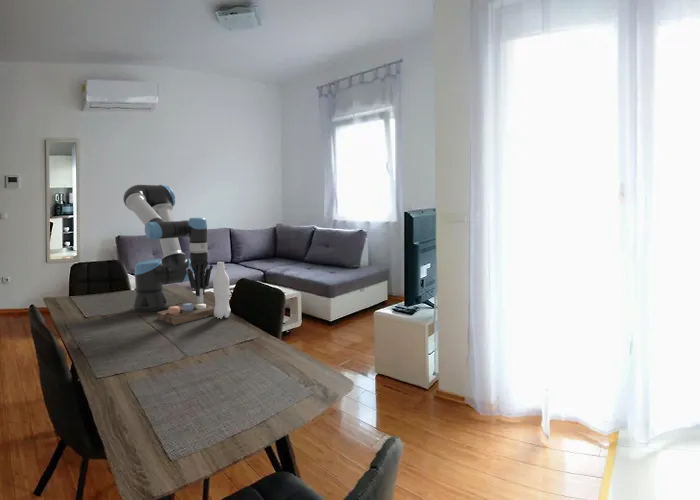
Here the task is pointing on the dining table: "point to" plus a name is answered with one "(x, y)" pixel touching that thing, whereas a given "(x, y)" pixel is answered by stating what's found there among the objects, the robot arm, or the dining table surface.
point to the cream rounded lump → (200, 306)
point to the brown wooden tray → (185, 314)
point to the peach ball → (174, 310)
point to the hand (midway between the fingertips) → (200, 302)
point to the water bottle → (221, 292)
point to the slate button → (187, 307)
